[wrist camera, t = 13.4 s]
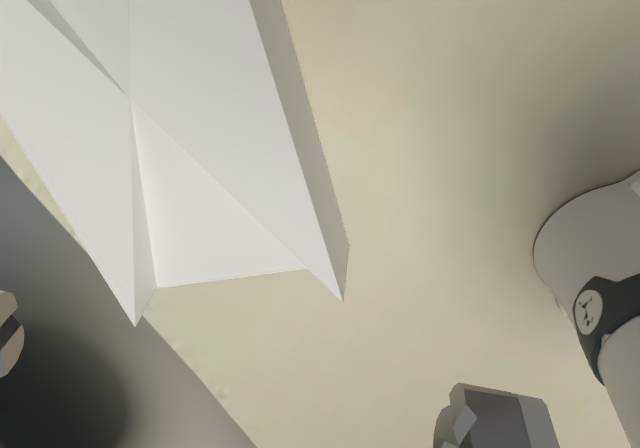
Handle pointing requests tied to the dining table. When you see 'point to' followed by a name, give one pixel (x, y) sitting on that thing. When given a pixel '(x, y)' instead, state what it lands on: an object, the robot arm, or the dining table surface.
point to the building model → (173, 139)
